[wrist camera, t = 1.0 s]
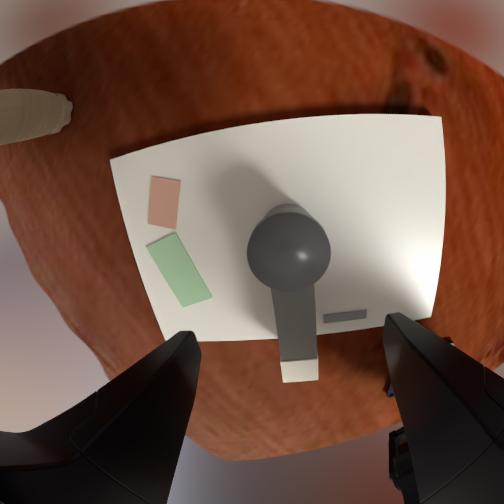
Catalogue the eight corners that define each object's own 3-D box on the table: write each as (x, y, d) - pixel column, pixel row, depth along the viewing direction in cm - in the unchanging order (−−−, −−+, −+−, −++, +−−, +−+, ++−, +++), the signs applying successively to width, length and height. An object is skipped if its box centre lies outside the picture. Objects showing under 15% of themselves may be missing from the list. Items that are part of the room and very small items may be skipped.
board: (426, 310, 19) (431, 318, 18) (169, 333, 22) (165, 341, 21) (433, 117, 13) (442, 116, 12) (117, 158, 17) (108, 160, 16)
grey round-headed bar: (249, 201, 16) (240, 219, 12) (318, 193, 15) (328, 209, 12) (273, 345, 20) (270, 383, 17) (325, 341, 19) (331, 378, 16)
